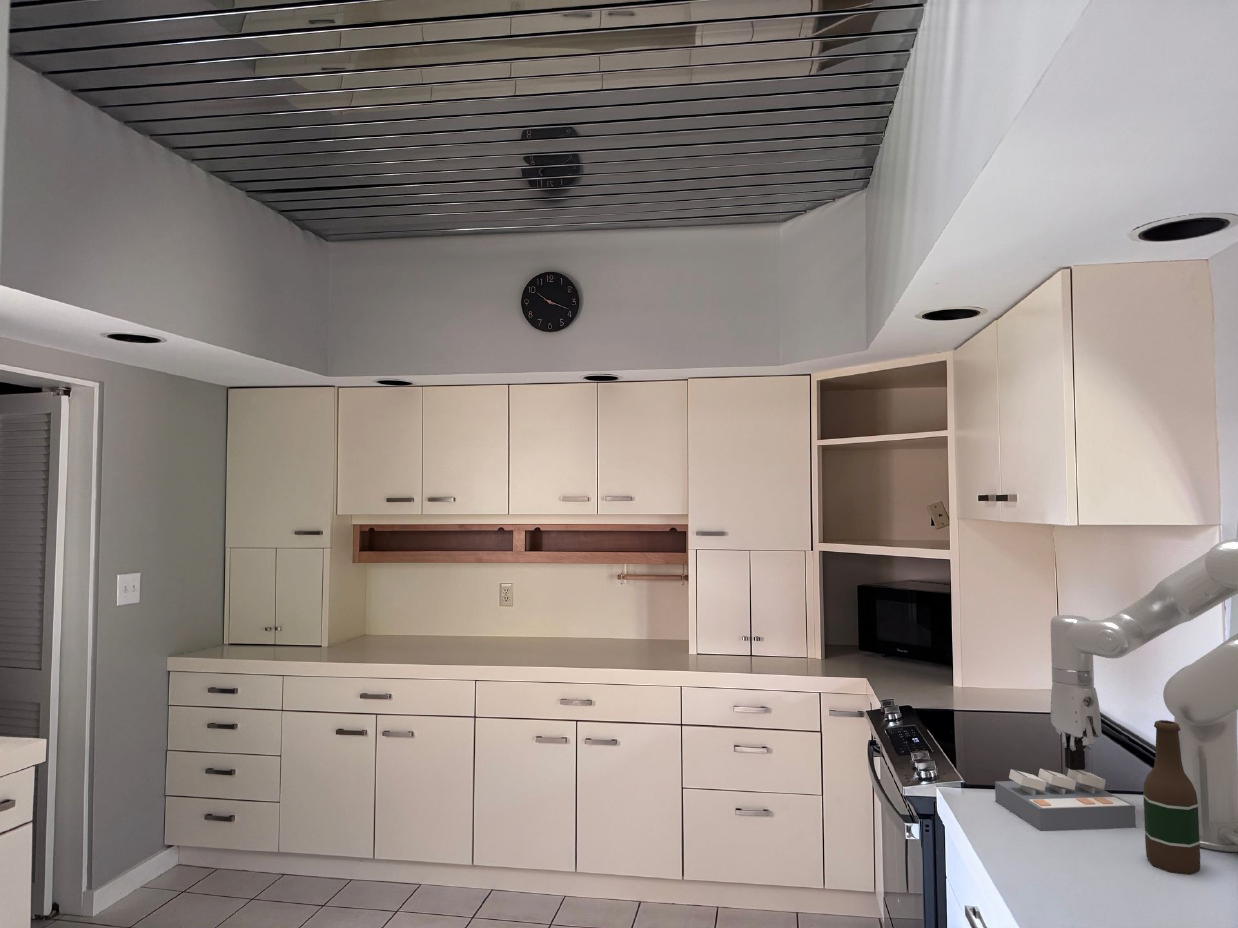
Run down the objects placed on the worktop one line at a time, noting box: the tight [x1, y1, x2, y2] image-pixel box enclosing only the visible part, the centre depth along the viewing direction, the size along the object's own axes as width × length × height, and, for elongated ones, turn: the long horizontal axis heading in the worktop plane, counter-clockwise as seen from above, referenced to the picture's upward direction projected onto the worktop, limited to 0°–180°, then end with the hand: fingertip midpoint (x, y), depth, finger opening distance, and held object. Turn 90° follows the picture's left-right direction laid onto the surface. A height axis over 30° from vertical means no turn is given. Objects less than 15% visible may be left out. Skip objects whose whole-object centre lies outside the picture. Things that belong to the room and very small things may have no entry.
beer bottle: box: [1143, 719, 1201, 875], centre depth 140 cm, size 8×8×24 cm
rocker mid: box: [1037, 768, 1076, 790], centre depth 165 cm, size 4×5×2 cm
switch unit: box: [994, 780, 1137, 831], centre depth 164 cm, size 16×19×5 cm
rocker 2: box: [1066, 768, 1106, 790], centre depth 166 cm, size 4×5×2 cm
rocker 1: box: [1008, 769, 1046, 791], centre depth 165 cm, size 4×5×2 cm
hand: (1075, 768), depth 166 cm, fingers closed
